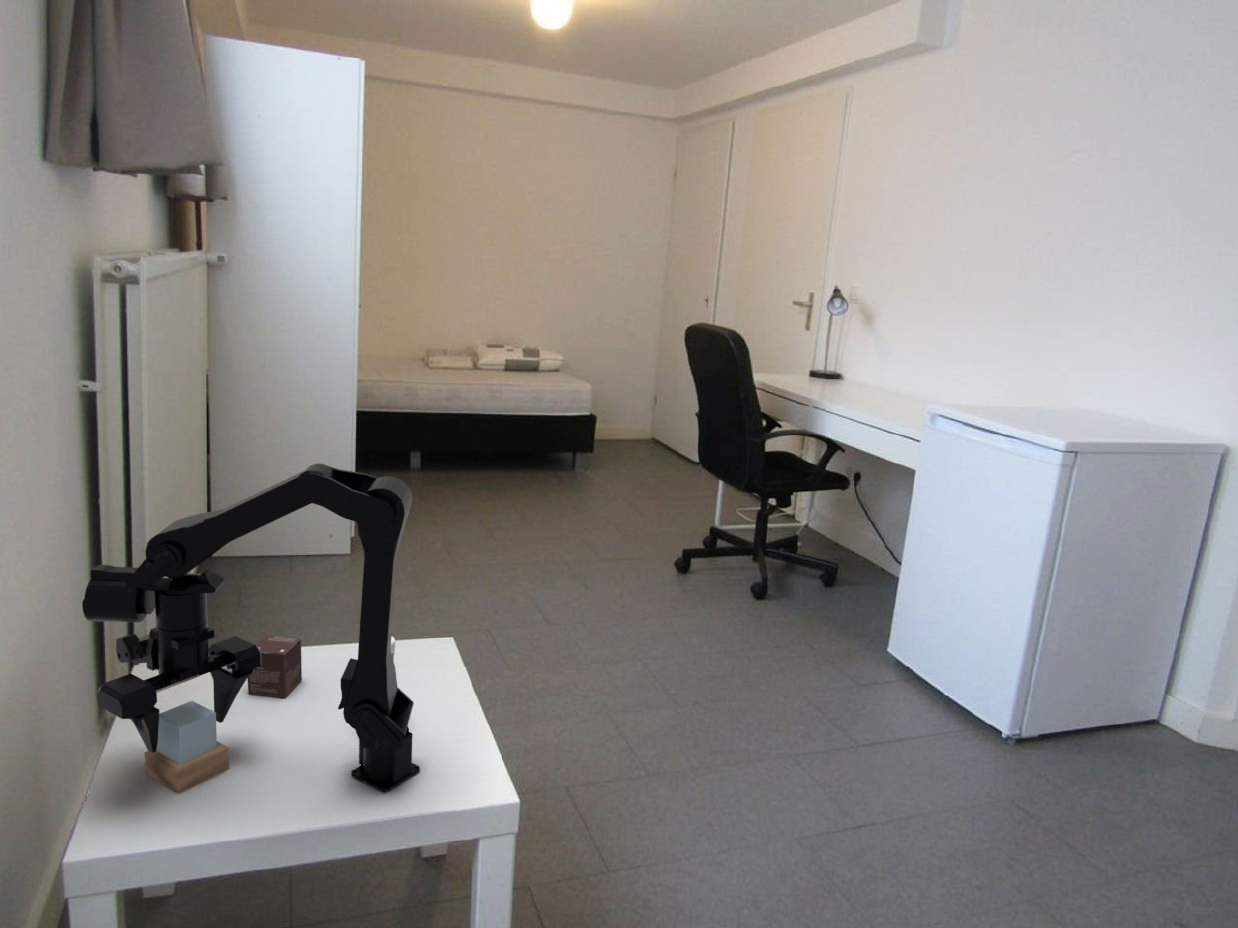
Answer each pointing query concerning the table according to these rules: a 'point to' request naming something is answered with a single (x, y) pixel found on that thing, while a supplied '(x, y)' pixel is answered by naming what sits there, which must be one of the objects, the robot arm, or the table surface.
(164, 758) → the base block
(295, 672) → the box
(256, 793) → the table surface
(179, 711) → the blue cube
